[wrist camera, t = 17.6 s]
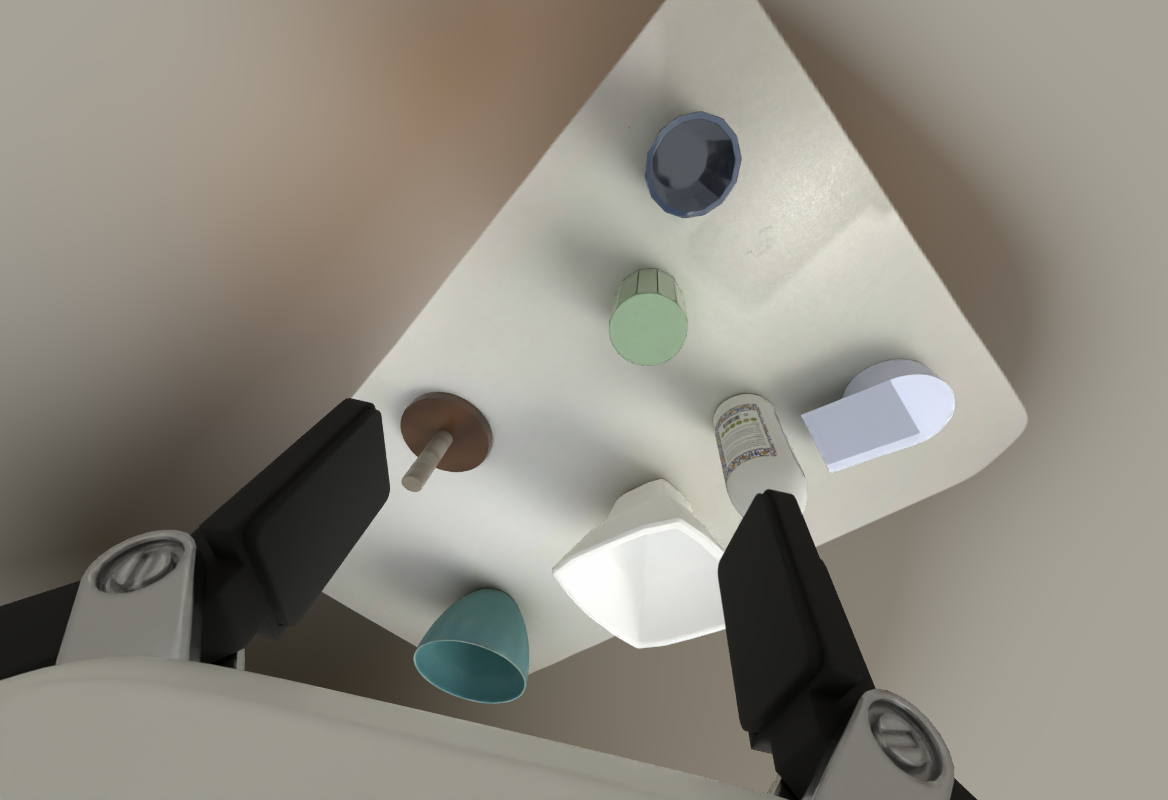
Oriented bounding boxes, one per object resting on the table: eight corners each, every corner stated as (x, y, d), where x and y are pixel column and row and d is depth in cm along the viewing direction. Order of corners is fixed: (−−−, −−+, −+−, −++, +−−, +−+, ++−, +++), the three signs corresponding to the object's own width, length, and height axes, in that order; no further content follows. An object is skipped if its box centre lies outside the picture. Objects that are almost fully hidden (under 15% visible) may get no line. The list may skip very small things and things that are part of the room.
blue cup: (633, 152, 37) (627, 155, 30) (701, 99, 35) (714, 87, 27) (669, 217, 40) (673, 235, 32) (735, 171, 37) (757, 180, 29)
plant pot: (431, 603, 80) (398, 672, 69) (468, 554, 70) (436, 626, 60) (515, 642, 83) (495, 714, 72) (561, 601, 74) (546, 676, 63)
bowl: (558, 486, 59) (535, 572, 48) (678, 423, 51) (686, 508, 40) (636, 563, 66) (632, 656, 54) (753, 518, 58) (779, 615, 46)
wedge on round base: (820, 454, 51) (945, 410, 46) (841, 494, 45) (986, 448, 40) (792, 398, 48) (923, 344, 42) (811, 433, 42) (965, 375, 37)
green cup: (603, 292, 44) (594, 319, 37) (660, 255, 41) (662, 277, 35) (637, 343, 47) (635, 378, 40) (693, 311, 44) (701, 342, 37)
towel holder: (388, 417, 57) (339, 468, 48) (448, 376, 52) (407, 424, 43) (449, 476, 61) (415, 533, 53) (510, 444, 57) (484, 500, 48)
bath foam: (700, 426, 51) (724, 567, 34) (735, 382, 47) (780, 515, 31) (750, 449, 52) (797, 599, 35) (787, 407, 48) (860, 552, 31)
